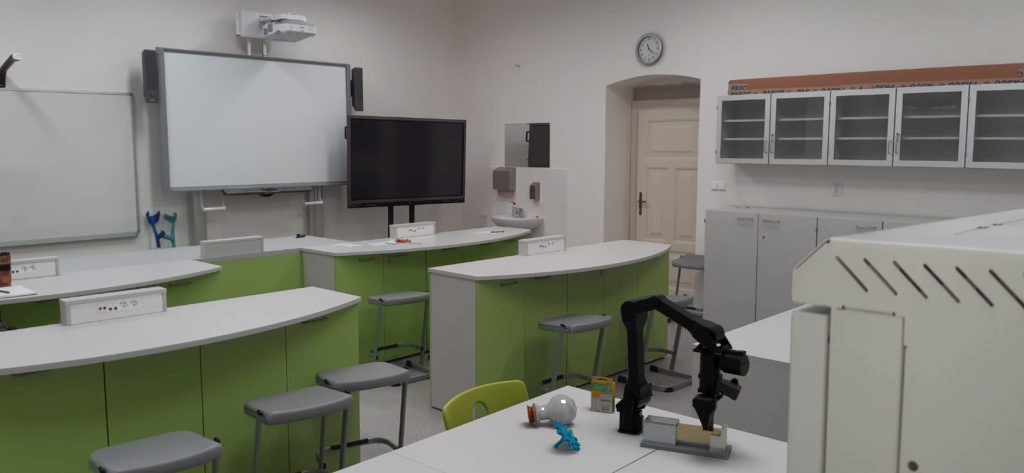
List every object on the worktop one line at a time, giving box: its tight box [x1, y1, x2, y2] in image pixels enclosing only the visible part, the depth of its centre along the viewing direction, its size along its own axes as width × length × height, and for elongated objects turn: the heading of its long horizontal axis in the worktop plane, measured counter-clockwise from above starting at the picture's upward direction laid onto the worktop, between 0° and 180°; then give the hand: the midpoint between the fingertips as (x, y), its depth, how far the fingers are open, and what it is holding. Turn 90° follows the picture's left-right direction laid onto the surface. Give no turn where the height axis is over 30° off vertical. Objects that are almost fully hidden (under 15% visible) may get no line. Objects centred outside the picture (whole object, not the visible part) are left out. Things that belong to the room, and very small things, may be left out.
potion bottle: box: [526, 393, 578, 426], centre depth 242 cm, size 9×10×15 cm
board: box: [639, 438, 733, 461], centre depth 223 cm, size 24×9×1 cm, turn 67°
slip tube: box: [676, 411, 721, 444], centre depth 222 cm, size 14×4×9 cm, turn 67°
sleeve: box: [643, 414, 681, 446], centre depth 226 cm, size 9×5×6 cm, turn 67°
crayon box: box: [590, 375, 616, 415], centre depth 256 cm, size 7×3×12 cm, turn 66°
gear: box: [553, 421, 581, 452], centre depth 222 cm, size 11×6×10 cm
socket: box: [710, 423, 728, 453], centre depth 220 cm, size 4×6×6 cm, turn 157°
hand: (708, 424), depth 220 cm, fingers open, 9 cm apart
